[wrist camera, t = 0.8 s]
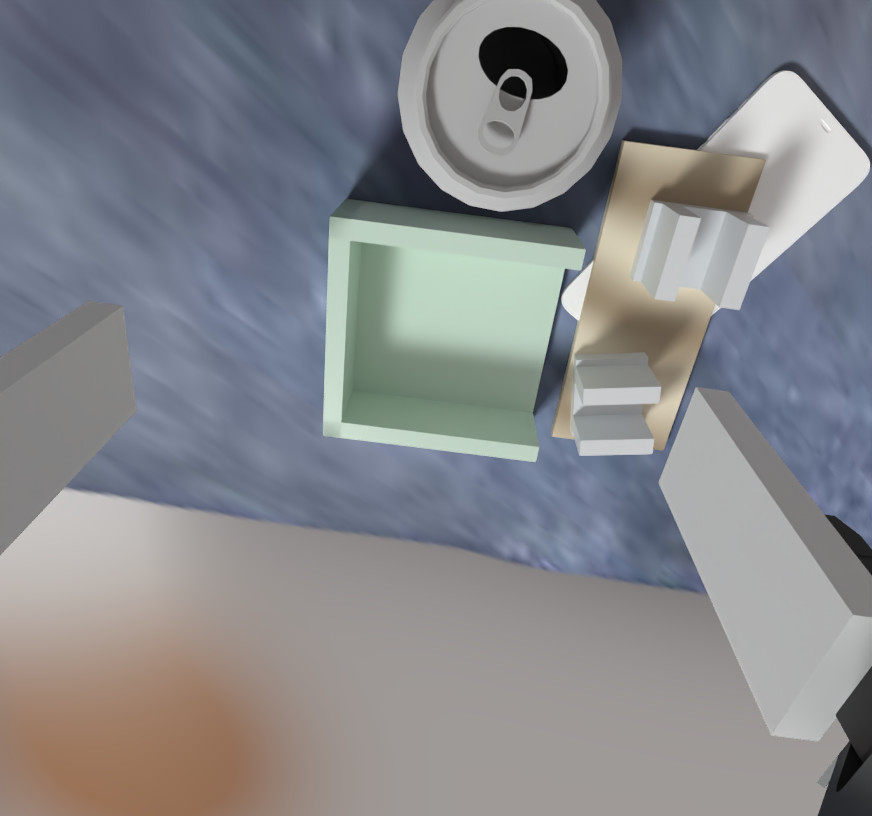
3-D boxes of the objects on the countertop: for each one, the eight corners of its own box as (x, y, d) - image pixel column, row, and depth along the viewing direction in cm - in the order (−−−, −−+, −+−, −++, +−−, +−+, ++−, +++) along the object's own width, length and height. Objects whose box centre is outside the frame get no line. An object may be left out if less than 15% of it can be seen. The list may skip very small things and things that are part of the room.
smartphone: (554, 300, 34) (786, 60, 28) (552, 295, 35) (778, 60, 29) (643, 377, 36) (878, 168, 30) (640, 371, 37) (870, 166, 31)
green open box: (346, 198, 32) (329, 216, 28) (571, 227, 32) (585, 249, 29) (337, 397, 38) (322, 435, 34) (528, 421, 38) (535, 462, 34)
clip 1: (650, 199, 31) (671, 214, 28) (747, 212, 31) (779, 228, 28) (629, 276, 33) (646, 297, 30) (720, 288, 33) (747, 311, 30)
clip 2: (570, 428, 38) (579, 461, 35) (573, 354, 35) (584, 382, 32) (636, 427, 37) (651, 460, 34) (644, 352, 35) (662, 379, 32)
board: (622, 140, 30) (624, 141, 30) (761, 158, 30) (766, 160, 30) (551, 431, 39) (552, 436, 38) (660, 445, 39) (663, 450, 38)
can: (603, 32, 28) (682, 9, 18) (537, 192, 32) (571, 252, 21) (450, -32, 27) (438, -97, 17) (399, 140, 31) (364, 176, 20)
